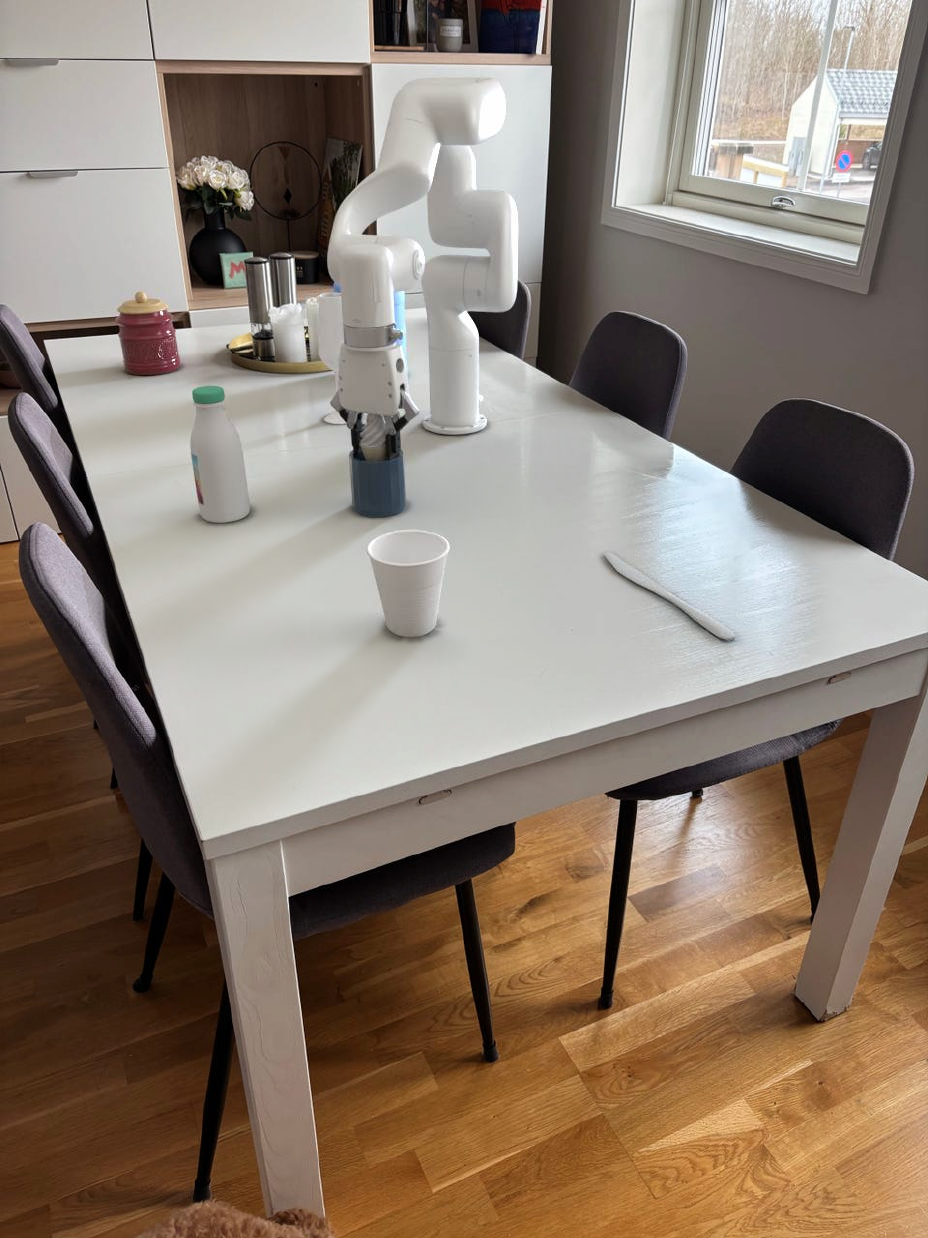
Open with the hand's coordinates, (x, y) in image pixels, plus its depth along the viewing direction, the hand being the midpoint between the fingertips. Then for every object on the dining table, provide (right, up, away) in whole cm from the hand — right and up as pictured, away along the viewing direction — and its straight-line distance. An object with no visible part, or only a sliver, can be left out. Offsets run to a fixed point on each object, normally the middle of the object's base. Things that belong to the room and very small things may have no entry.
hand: (376, 453), depth 148 cm
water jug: (-7, +30, +71) cm, 78 cm away
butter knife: (+40, -23, -22) cm, 51 cm away
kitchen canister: (-60, +34, +79) cm, 105 cm away
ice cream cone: (0, -6, +3) cm, 7 cm away
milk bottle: (-24, -9, +3) cm, 26 cm away
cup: (+7, -27, -29) cm, 40 cm away
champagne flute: (-11, +14, +44) cm, 48 cm away
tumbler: (0, -8, +4) cm, 9 cm away
